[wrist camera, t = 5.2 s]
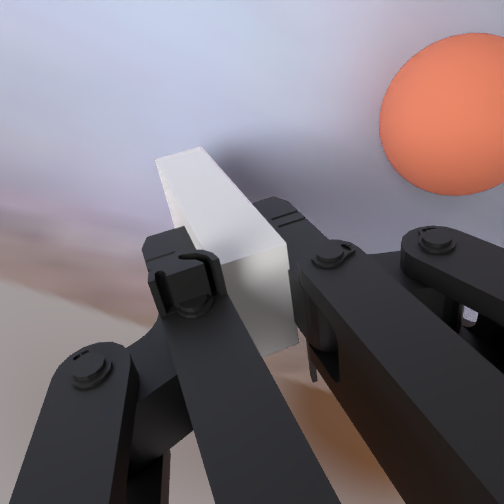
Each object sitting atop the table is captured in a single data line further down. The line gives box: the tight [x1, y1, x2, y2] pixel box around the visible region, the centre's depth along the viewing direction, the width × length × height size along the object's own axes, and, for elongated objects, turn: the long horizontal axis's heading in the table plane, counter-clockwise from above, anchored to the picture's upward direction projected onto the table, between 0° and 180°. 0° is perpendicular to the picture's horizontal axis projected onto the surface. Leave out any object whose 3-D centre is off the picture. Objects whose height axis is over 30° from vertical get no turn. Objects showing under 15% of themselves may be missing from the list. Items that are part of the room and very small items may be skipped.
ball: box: [379, 33, 504, 196], centre depth 16 cm, size 6×6×6 cm
